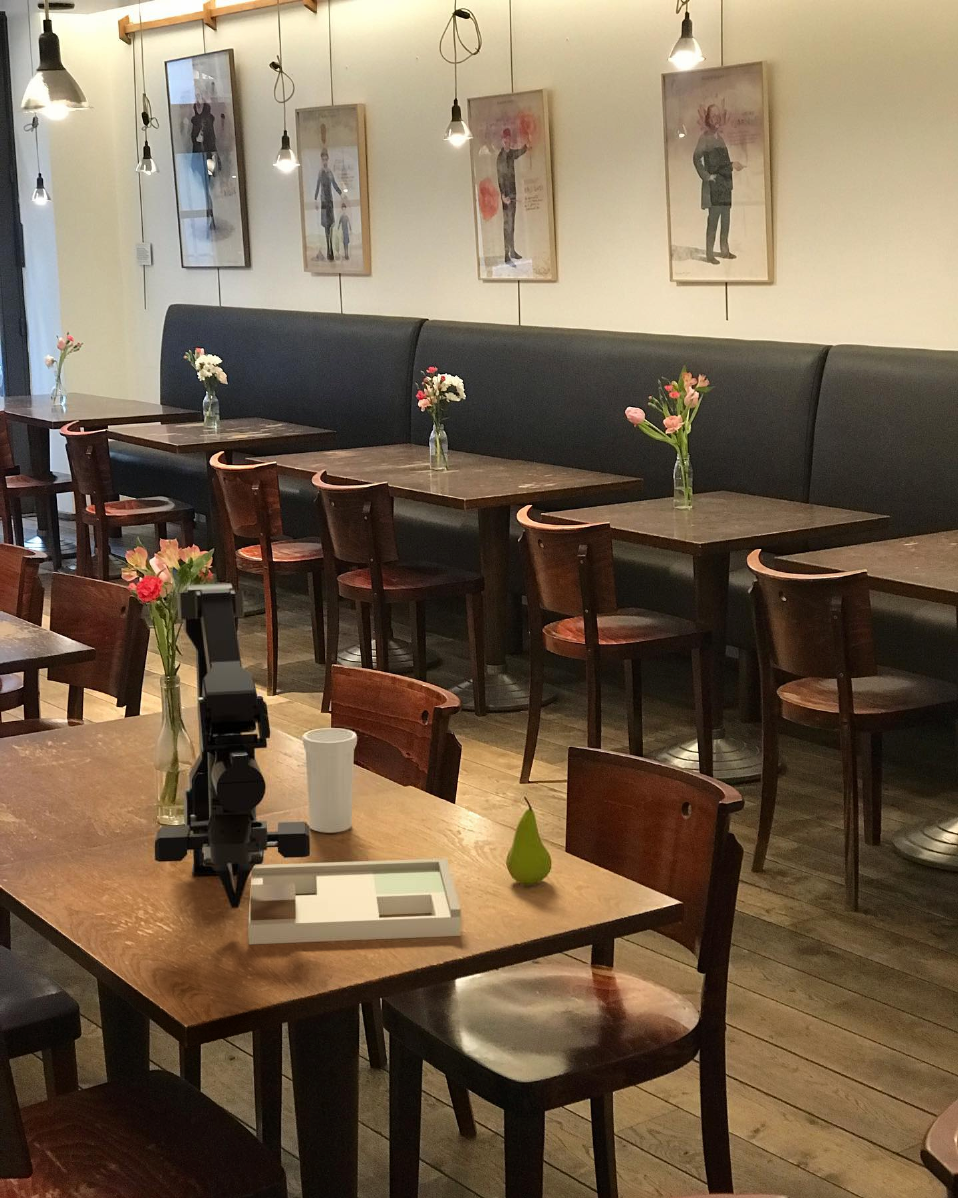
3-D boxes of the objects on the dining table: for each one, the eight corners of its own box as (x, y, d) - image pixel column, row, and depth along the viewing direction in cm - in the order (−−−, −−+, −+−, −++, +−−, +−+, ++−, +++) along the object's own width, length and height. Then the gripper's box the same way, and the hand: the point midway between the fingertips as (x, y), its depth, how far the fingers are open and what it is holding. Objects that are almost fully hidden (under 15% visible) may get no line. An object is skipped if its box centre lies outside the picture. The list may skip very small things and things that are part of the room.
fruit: (548, 893, 212) (549, 807, 210) (502, 890, 213) (502, 804, 211) (554, 876, 219) (555, 792, 216) (509, 873, 220) (510, 789, 217)
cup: (293, 833, 235) (292, 739, 232) (319, 816, 243) (318, 725, 240) (342, 840, 232) (341, 745, 230) (367, 823, 240) (366, 731, 237)
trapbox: (248, 944, 195) (248, 917, 195) (252, 890, 213) (251, 865, 212) (460, 936, 198) (460, 909, 197) (446, 883, 216) (446, 858, 215)
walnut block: (250, 920, 196) (250, 901, 196) (251, 903, 202) (251, 884, 201) (295, 918, 197) (295, 899, 196) (295, 902, 202) (295, 883, 202)
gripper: (148, 809, 187) (152, 935, 190) (309, 805, 189) (311, 929, 192) (156, 781, 198) (161, 900, 201) (308, 777, 200) (310, 895, 203)
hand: (235, 907), depth 199 cm, fingers closed
